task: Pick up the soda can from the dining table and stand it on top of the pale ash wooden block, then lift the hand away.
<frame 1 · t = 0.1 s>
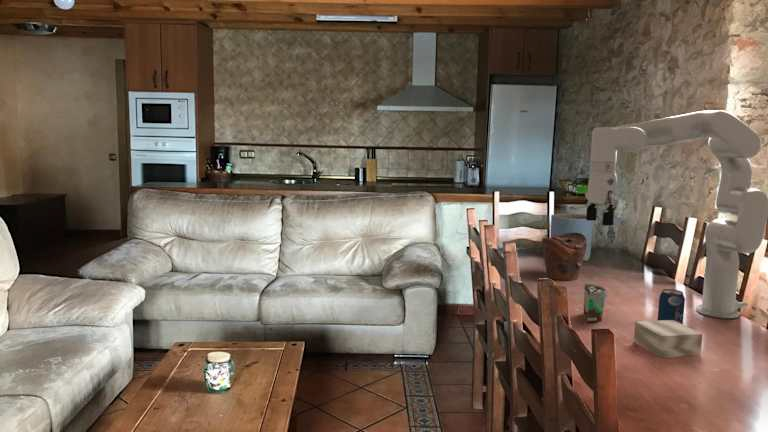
hand: (599, 222, 184), 31 cm above the table, tool pointing down, fingers open, 9 cm apart
planter: (569, 258, 280), on the table
brown tapered round vessel: (561, 277, 243), on the table
soda can: (669, 330, 179), on the table
food container: (595, 319, 189), on the table
ash block: (666, 348, 164), on the table
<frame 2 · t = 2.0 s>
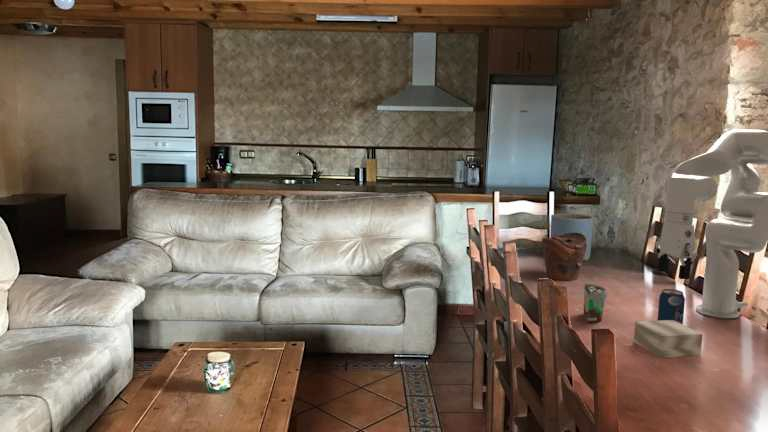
hand: (673, 274, 176), 17 cm above the table, tool pointing down, fingers open, 9 cm apart
nothing on the table moved.
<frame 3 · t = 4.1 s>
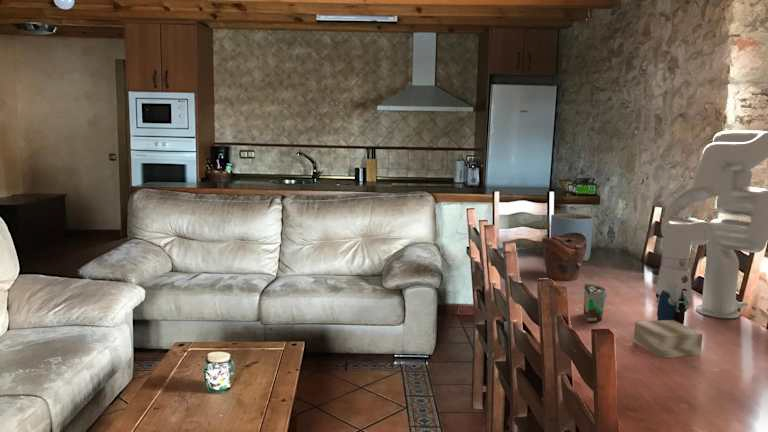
hand: (670, 319, 179), 3 cm above the table, tool pointing down, fingers closed on soda can, 6 cm apart
soda can: (669, 330, 179), on the table, touching gripper
everything else where it was.
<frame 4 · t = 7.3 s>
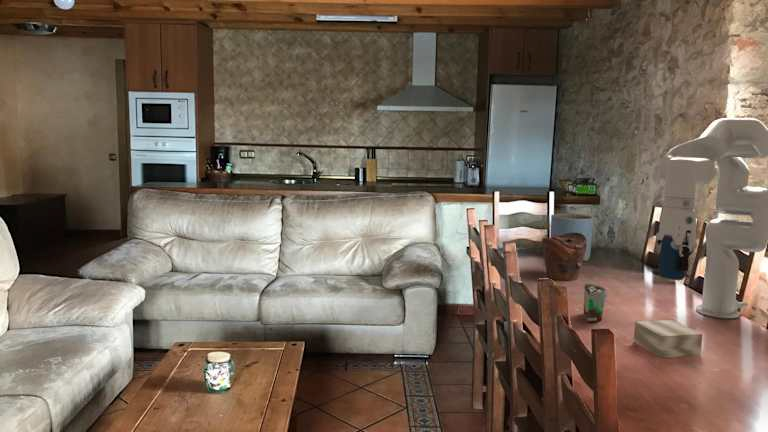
hand: (673, 266, 164), 22 cm above the table, tool pointing down, fingers closed on soda can, 6 cm apart
soda can: (671, 278, 165), point 19 cm above the table, touching gripper
everything else where it was.
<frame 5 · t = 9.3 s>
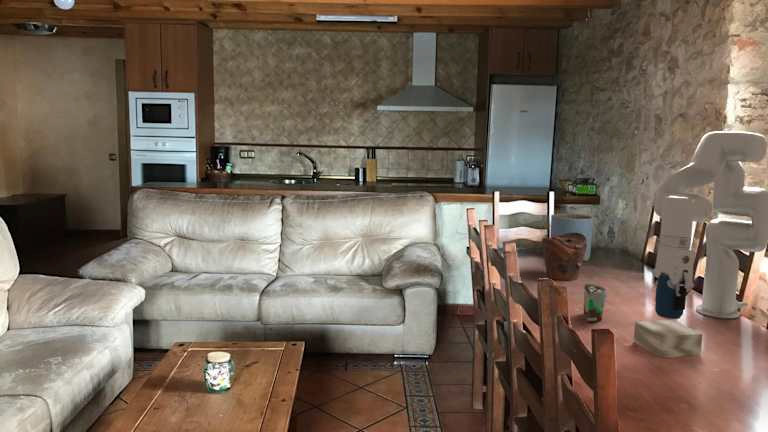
hand: (669, 305, 162), 12 cm above the table, tool pointing down, fingers closed on soda can, 6 cm apart
soda can: (668, 316, 162), point 9 cm above the table, touching gripper
everything else where it was.
when the fingers open (11 cm above the table, at t = 10.7 s): soda can drops 1 cm, resting on ash block.
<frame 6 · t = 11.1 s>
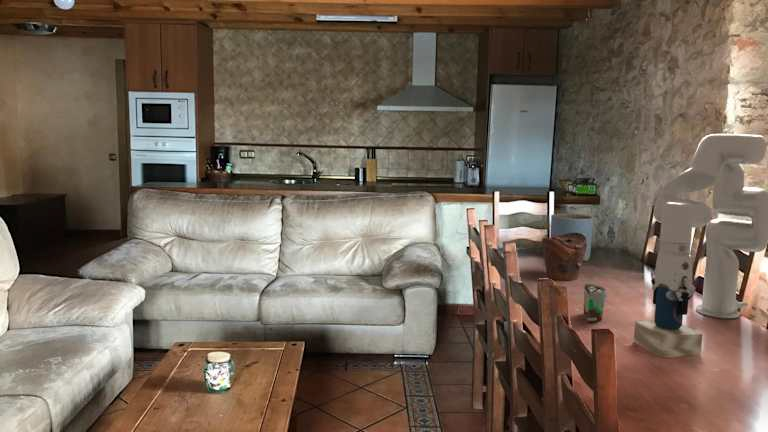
hand: (669, 309, 162), 11 cm above the table, tool pointing down, fingers open, 9 cm apart
soda can: (667, 327, 163), point 6 cm above the table, touching ash block
everything else where it was.
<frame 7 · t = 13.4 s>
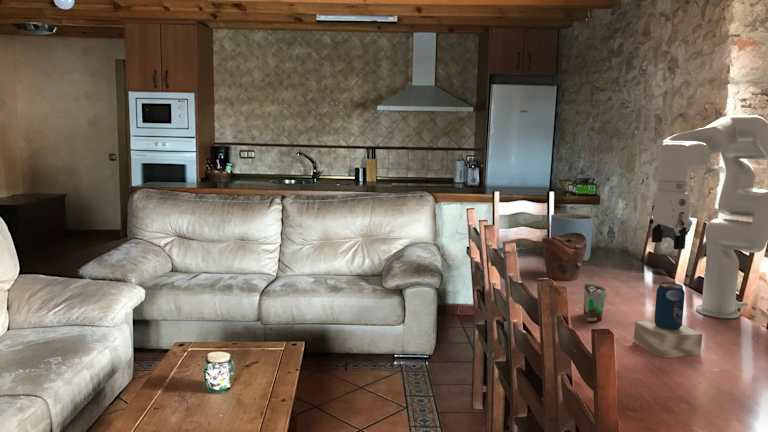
hand: (667, 245, 171), 27 cm above the table, tool pointing down, fingers open, 9 cm apart
nothing on the table moved.
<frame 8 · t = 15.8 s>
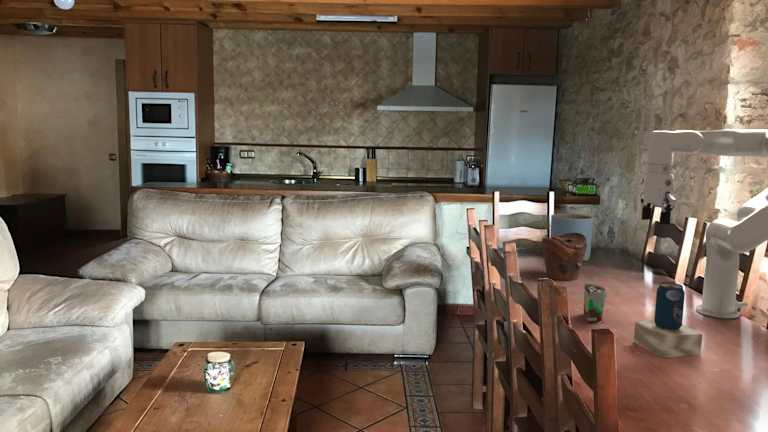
hand: (655, 221, 193), 30 cm above the table, tool pointing down, fingers open, 9 cm apart
nothing on the table moved.
at the end: soda can inside the target area on the ash block (0.3 cm from its centre), point 5.8 cm above the ash block's base; soda can tilted 0°; soda can touching ash block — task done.
